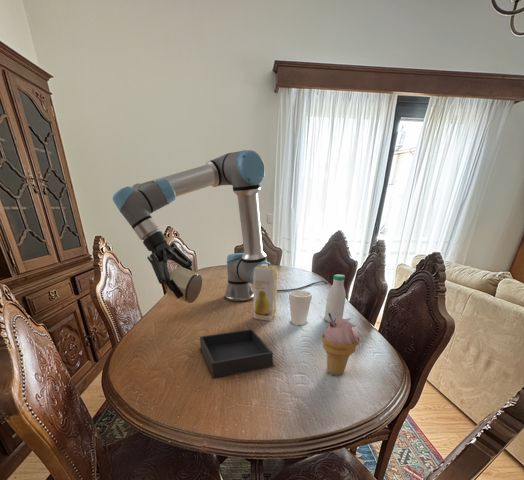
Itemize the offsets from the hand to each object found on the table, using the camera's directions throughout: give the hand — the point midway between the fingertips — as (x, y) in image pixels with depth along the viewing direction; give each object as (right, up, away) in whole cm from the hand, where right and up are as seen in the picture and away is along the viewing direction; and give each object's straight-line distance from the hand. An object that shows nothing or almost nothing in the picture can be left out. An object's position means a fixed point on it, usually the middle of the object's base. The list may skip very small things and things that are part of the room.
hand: (189, 290), depth 107 cm
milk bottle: (+59, -9, +22) cm, 64 cm away
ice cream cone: (+50, -30, -16) cm, 61 cm away
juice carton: (+28, -8, +23) cm, 38 cm away
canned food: (+57, -17, +7) cm, 60 cm away
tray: (+18, -25, -9) cm, 32 cm away
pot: (-1, +2, -1) cm, 2 cm away
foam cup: (+43, -10, +19) cm, 48 cm away
